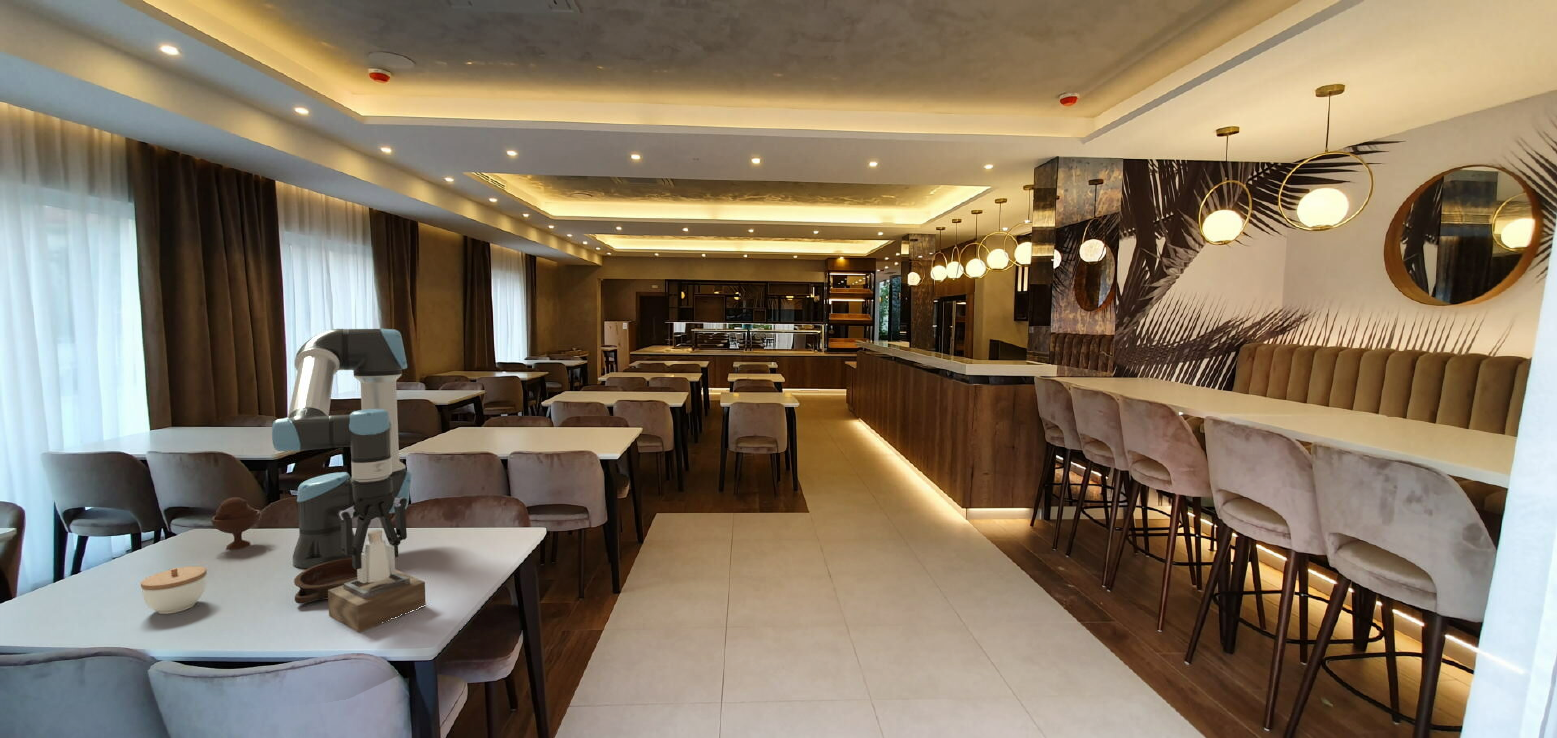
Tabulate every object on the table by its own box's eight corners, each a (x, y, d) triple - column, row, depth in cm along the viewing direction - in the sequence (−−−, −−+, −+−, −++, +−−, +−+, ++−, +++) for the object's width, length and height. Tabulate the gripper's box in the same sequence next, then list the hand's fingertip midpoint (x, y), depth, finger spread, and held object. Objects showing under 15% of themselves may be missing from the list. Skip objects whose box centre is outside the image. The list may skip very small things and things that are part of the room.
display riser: (329, 615, 135) (327, 584, 135) (394, 592, 147) (393, 564, 147) (359, 632, 128) (357, 600, 128) (425, 606, 140) (424, 576, 139)
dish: (266, 605, 140) (265, 585, 140) (351, 568, 162) (350, 550, 162) (327, 613, 137) (326, 592, 137) (405, 574, 158) (405, 555, 158)
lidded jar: (150, 623, 131) (147, 582, 130) (137, 611, 137) (134, 571, 136) (215, 604, 140) (212, 565, 139) (200, 593, 146) (197, 556, 145)
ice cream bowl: (268, 544, 178) (266, 495, 177) (219, 556, 169) (216, 504, 168) (255, 537, 184) (252, 489, 183) (207, 548, 175) (203, 498, 173)
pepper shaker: (393, 577, 137) (392, 531, 136) (366, 585, 133) (363, 537, 132) (387, 571, 141) (385, 525, 140) (359, 577, 137) (357, 531, 136)
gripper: (333, 489, 126) (338, 595, 127) (422, 471, 141) (426, 566, 143) (317, 484, 129) (322, 587, 131) (405, 467, 145) (409, 559, 147)
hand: (376, 576), depth 137 cm, fingers closed on pepper shaker, 5 cm apart
